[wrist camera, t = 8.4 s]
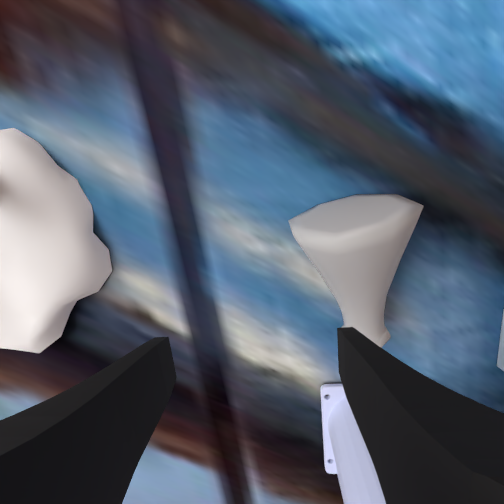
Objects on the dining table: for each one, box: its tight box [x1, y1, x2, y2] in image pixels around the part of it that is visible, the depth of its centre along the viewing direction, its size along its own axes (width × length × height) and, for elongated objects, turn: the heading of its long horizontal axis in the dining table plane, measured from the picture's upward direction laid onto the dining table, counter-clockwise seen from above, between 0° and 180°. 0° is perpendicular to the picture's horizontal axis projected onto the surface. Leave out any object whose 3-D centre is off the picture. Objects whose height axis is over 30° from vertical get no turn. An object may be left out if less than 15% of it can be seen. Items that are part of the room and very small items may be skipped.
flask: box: [289, 194, 423, 348], centre depth 17 cm, size 7×7×10 cm
